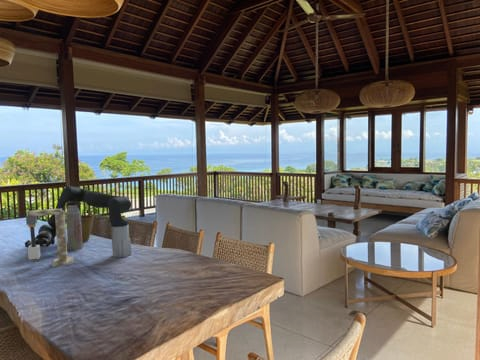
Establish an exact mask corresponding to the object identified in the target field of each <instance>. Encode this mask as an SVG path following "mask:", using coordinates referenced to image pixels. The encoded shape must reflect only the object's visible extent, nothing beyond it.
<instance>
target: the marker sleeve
mask: <svg viewBox="0 0 480 360" xmlns="http://www.w3.org/2000/svg"><path fill="white" fill-rule="evenodd" d="M27 256H28V258H27V259H28V260H31V259H38V258H39V259H40V257H41V247H40V245H36V247H32V246H29V247H28V248H27Z"/></svg>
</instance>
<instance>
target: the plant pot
mask: <svg viewBox="0 0 480 360" xmlns="http://www.w3.org/2000/svg"><path fill="white" fill-rule="evenodd" d="M93 224H94V215H91V214H84V215H83V214H82V215H81V227H82V242H83V243H85V242H88V241H89V239H90V236H91V233H92V230H93Z"/></svg>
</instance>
